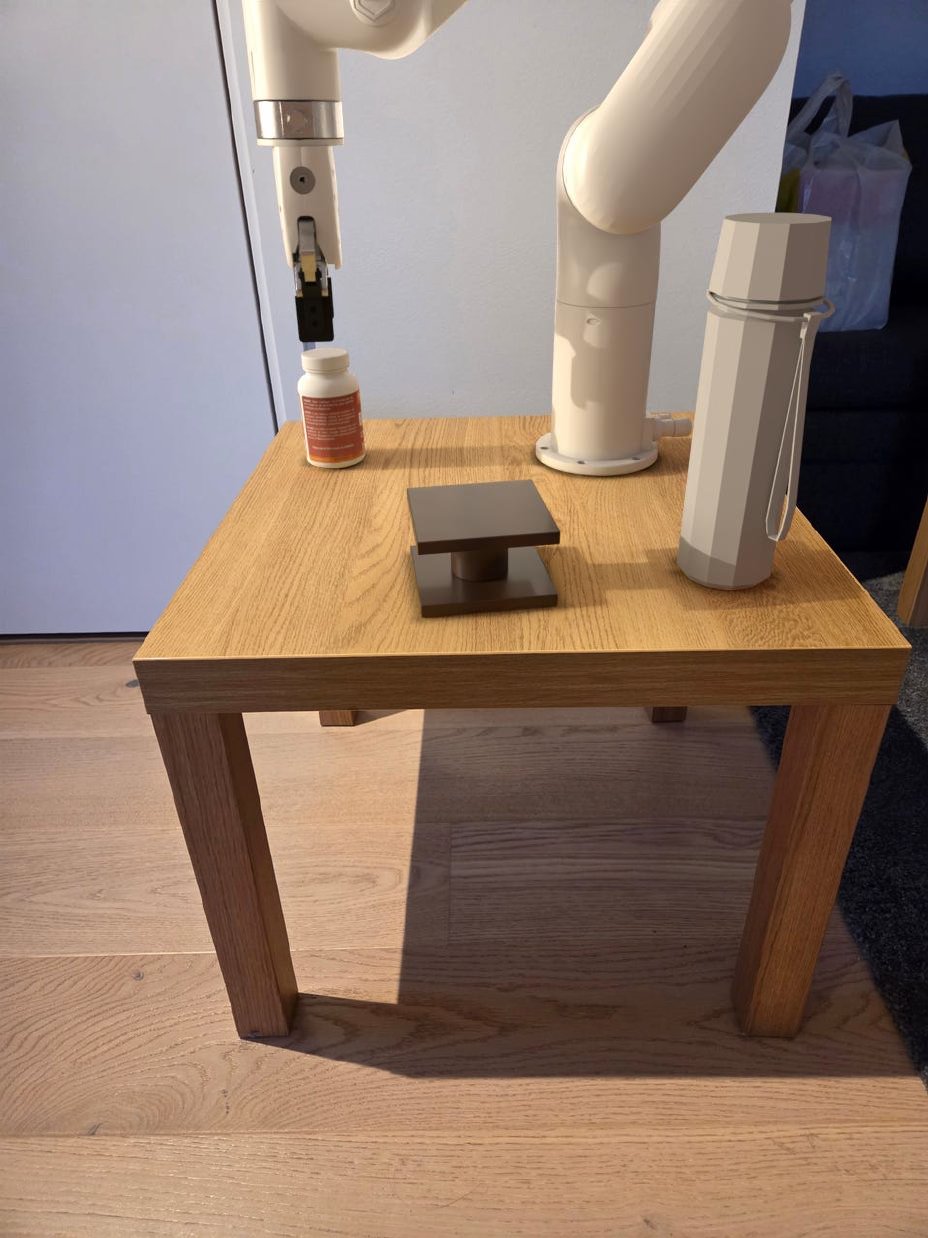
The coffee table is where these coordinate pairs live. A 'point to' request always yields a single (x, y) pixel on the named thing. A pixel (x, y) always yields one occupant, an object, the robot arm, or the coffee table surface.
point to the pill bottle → (330, 409)
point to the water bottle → (752, 395)
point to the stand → (480, 547)
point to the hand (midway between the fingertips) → (317, 329)
